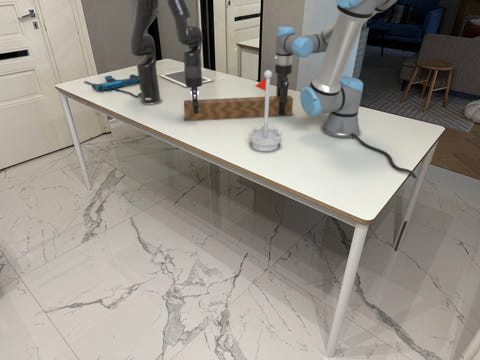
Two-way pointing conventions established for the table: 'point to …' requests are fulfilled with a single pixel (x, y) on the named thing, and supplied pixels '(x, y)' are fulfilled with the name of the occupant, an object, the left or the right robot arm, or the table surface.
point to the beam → (235, 108)
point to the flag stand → (265, 123)
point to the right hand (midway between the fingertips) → (280, 112)
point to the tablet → (180, 77)
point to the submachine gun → (115, 82)
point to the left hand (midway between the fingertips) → (196, 111)
